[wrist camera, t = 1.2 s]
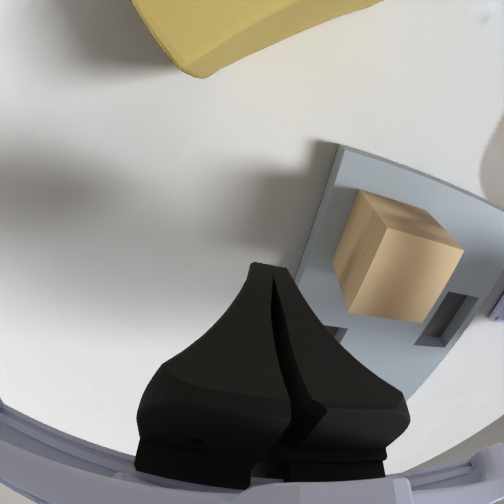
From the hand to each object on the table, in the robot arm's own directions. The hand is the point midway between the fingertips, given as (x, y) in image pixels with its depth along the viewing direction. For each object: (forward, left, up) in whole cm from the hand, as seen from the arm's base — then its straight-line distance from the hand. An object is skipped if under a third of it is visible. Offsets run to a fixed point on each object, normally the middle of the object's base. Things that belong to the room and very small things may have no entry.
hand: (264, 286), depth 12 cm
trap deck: (-12, +9, -9) cm, 17 cm away
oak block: (-8, 0, -8) cm, 11 cm away
